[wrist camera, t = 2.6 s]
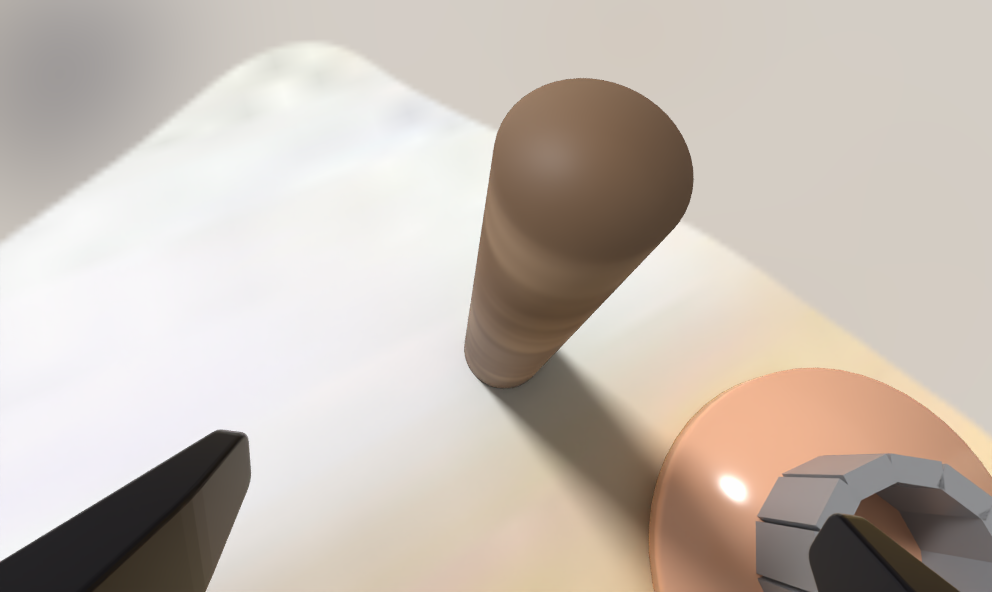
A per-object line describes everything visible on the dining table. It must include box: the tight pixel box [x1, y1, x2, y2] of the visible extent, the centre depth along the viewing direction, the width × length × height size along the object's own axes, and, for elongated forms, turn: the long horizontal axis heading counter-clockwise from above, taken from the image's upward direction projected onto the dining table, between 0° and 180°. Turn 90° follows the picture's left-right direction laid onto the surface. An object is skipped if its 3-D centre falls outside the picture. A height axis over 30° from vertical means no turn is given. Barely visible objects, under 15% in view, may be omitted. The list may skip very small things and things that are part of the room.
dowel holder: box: [649, 368, 992, 592], centre depth 17 cm, size 13×13×4 cm
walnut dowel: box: [464, 78, 693, 388], centre depth 14 cm, size 3×3×13 cm
